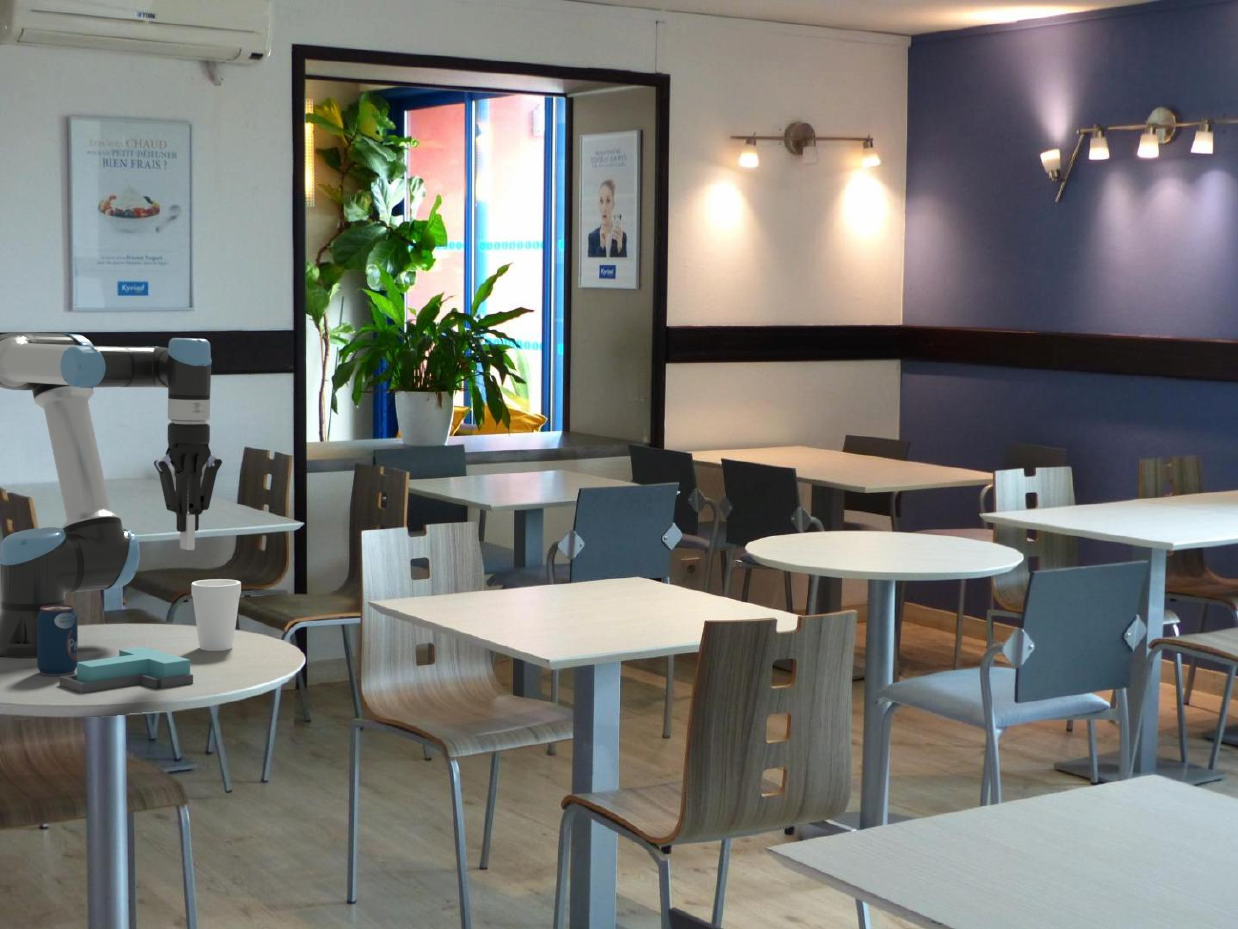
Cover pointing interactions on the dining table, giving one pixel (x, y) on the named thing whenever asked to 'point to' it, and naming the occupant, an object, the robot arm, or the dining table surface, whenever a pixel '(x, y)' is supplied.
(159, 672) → the t block
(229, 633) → the foam cup
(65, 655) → the soda can
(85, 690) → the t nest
